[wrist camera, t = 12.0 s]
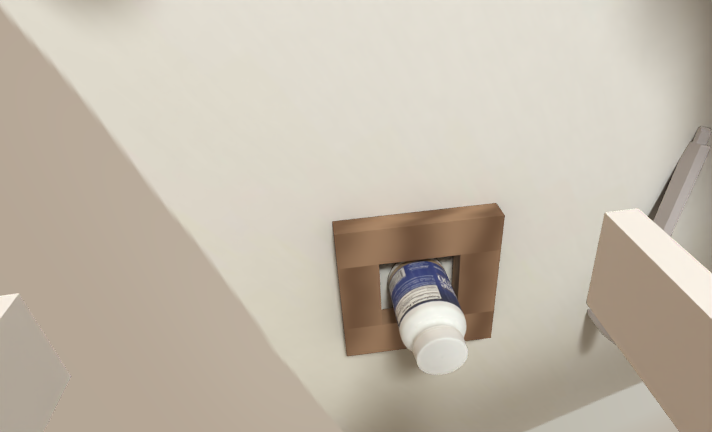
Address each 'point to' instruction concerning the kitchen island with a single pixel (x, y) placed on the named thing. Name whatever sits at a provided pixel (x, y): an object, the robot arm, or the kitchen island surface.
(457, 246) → the holder block
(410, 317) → the pill bottle
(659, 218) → the caliper
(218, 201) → the kitchen island surface
